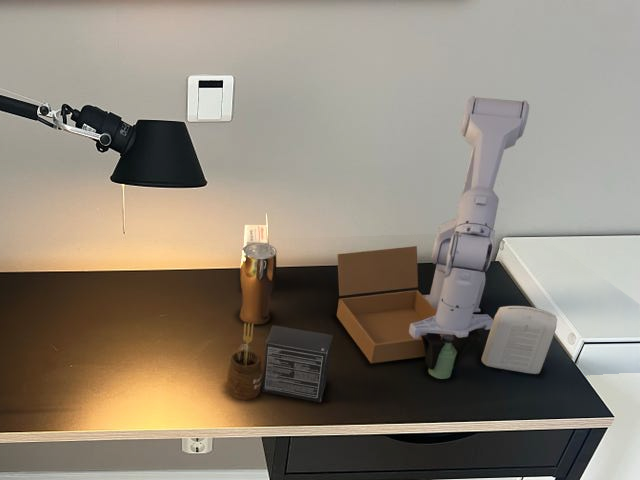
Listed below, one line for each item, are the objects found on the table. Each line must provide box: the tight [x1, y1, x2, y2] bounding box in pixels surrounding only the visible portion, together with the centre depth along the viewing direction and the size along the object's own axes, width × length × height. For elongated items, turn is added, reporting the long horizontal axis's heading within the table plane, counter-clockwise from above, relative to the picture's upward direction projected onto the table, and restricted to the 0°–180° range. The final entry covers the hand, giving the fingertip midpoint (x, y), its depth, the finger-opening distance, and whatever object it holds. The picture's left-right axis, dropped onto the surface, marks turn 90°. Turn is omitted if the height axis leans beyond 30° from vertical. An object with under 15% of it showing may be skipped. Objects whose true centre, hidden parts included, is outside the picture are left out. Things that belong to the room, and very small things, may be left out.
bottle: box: [427, 334, 457, 380], centre depth 134 cm, size 4×4×8 cm
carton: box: [336, 289, 453, 364], centre depth 146 cm, size 17×17×4 cm
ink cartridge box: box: [243, 212, 270, 248], centre depth 160 cm, size 9×5×15 cm, turn 177°
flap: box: [337, 245, 419, 297], centre depth 150 cm, size 8×17×1 cm
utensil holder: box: [226, 322, 263, 401], centre depth 130 cm, size 6×6×12 cm
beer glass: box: [239, 243, 278, 326], centre depth 148 cm, size 7×7×15 cm
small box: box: [261, 325, 333, 403], centre depth 131 cm, size 11×6×10 cm, turn 71°
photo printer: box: [481, 305, 558, 375], centre depth 135 cm, size 10×4×12 cm, turn 72°
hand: (441, 364), depth 135 cm, fingers closed on bottle, 4 cm apart
